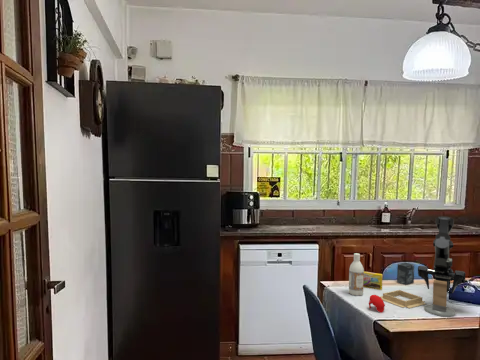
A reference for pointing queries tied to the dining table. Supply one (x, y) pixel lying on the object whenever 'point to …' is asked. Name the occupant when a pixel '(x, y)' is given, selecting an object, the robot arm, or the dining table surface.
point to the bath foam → (356, 276)
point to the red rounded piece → (376, 303)
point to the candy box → (373, 280)
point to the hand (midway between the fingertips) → (440, 290)
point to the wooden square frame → (409, 304)
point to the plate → (430, 310)
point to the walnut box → (440, 295)
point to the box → (405, 273)
